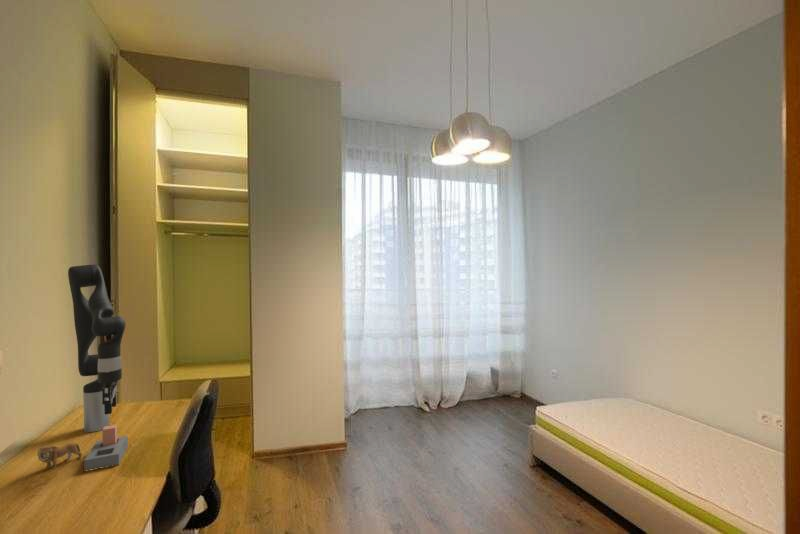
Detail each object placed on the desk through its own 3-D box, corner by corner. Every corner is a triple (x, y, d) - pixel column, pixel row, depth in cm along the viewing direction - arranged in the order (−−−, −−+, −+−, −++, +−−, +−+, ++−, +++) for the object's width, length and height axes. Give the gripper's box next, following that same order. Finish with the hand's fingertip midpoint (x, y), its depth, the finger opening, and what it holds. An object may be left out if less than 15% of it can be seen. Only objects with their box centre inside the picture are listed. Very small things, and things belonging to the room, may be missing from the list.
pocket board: (97, 451, 155) (97, 441, 155) (127, 445, 160) (127, 435, 160) (84, 471, 139) (84, 460, 139) (118, 465, 144) (118, 453, 144)
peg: (105, 452, 155) (104, 426, 155) (117, 449, 156) (117, 424, 156) (102, 456, 151) (102, 429, 151) (115, 453, 153) (115, 427, 153)
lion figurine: (44, 475, 137) (43, 449, 137) (32, 473, 139) (32, 448, 139) (87, 456, 152) (86, 432, 152) (76, 454, 153) (76, 431, 153)
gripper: (102, 365, 159) (102, 406, 159) (93, 374, 146) (94, 418, 146) (124, 363, 162) (125, 402, 162) (117, 371, 149) (118, 414, 149)
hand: (110, 410), depth 154 cm, fingers open, 8 cm apart
